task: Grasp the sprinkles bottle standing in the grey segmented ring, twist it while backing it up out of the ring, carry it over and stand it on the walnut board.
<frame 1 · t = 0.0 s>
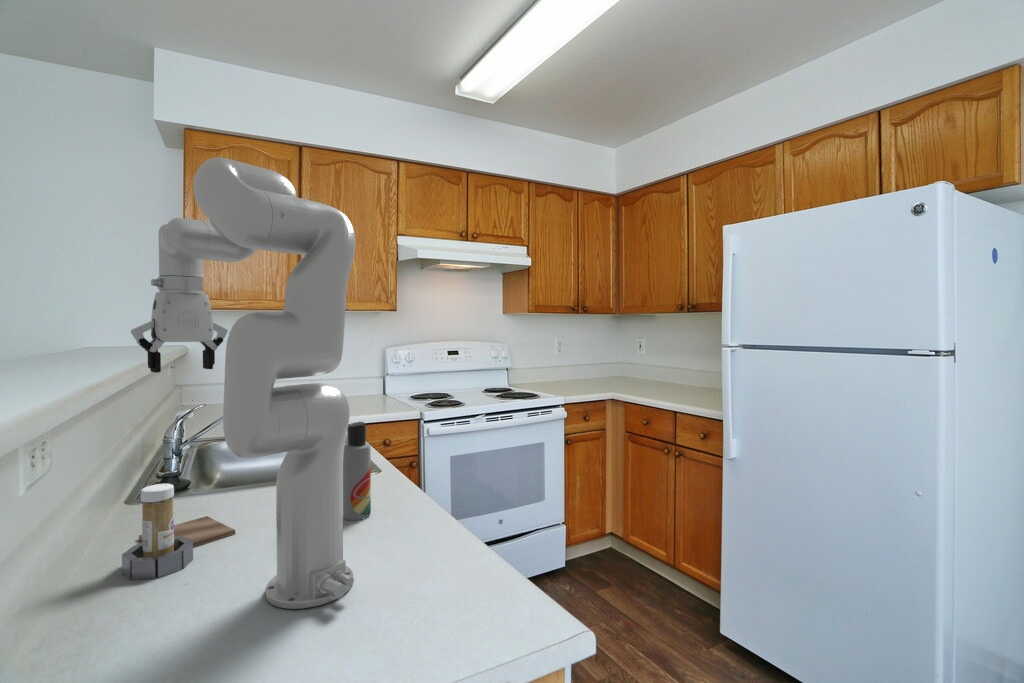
hand: (182, 370, 104), 31 cm above the worktop, tool pointing down, fingers open, 9 cm apart
walnut board: (187, 536, 97), on the worktop
grey segmented ring: (158, 565, 86), on the worktop
sprinkles bottle: (158, 567, 86), resting in grey segmented ring
lotion bottle: (356, 516, 108), on the worktop
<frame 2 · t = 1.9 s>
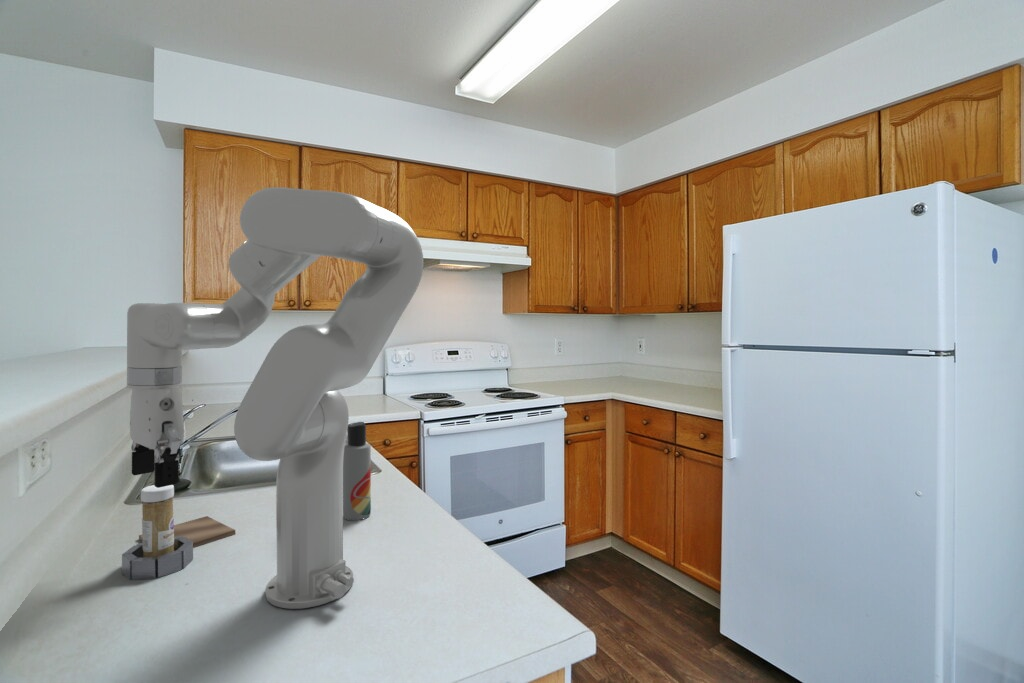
hand: (154, 479, 85), 15 cm above the worktop, tool pointing down, fingers open, 9 cm apart
nothing on the worktop moved.
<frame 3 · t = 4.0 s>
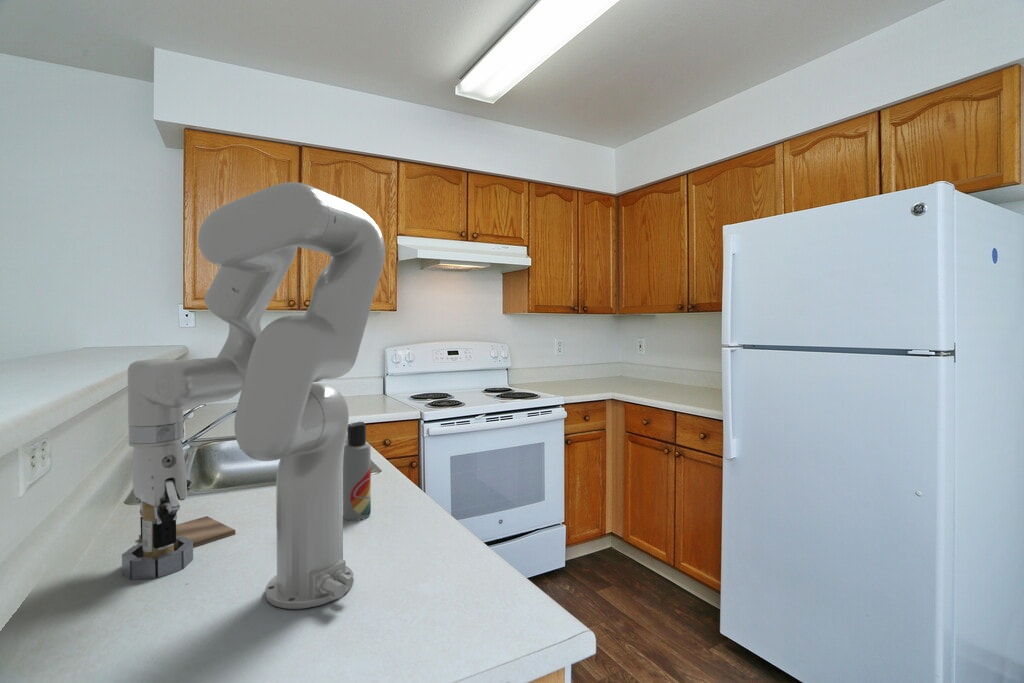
hand: (158, 540, 85), 4 cm above the worktop, tool pointing down, fingers closed on sprinkles bottle, 4 cm apart
sprinkles bottle: (158, 567, 86), resting in grey segmented ring, touching gripper
everything else where it was.
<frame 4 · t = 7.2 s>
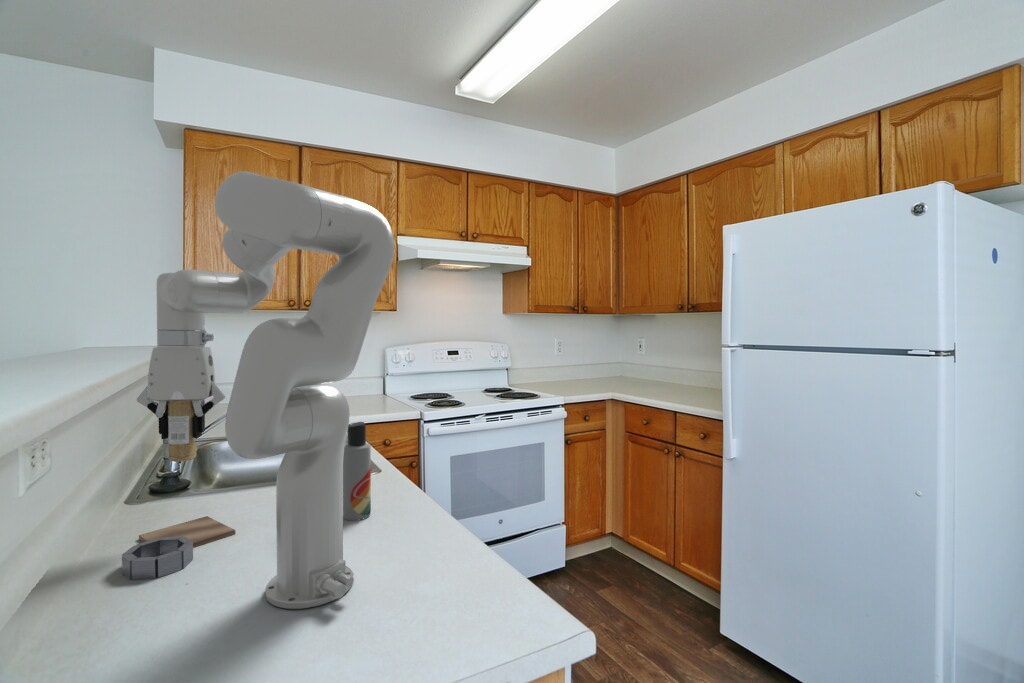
hand: (182, 436, 95), 20 cm above the worktop, tool pointing down, fingers closed on sprinkles bottle, 4 cm apart
sprinkles bottle: (182, 460, 95), point 15 cm above the worktop, touching gripper
everything else where it was.
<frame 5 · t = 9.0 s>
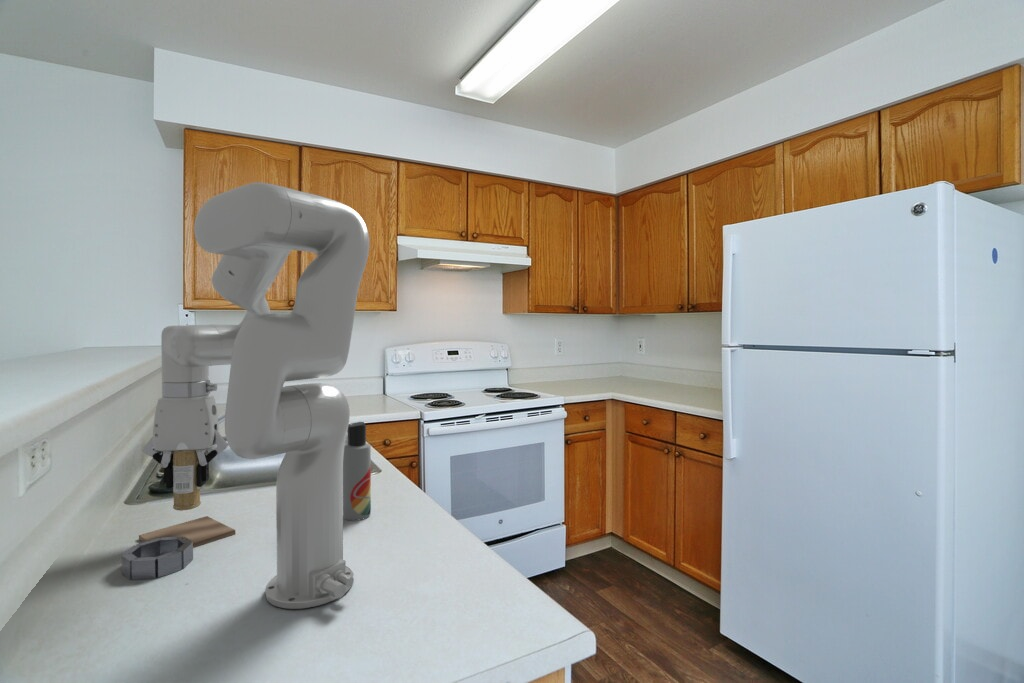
hand: (186, 484, 97), 10 cm above the worktop, tool pointing down, fingers closed on sprinkles bottle, 4 cm apart
sprinkles bottle: (186, 508, 97), point 5 cm above the worktop, touching gripper
everything else where it was.
when the fingers open (6 cm above the worktop, at t = 10.5 s): sprinkles bottle drops 1 cm, resting on walnut board.
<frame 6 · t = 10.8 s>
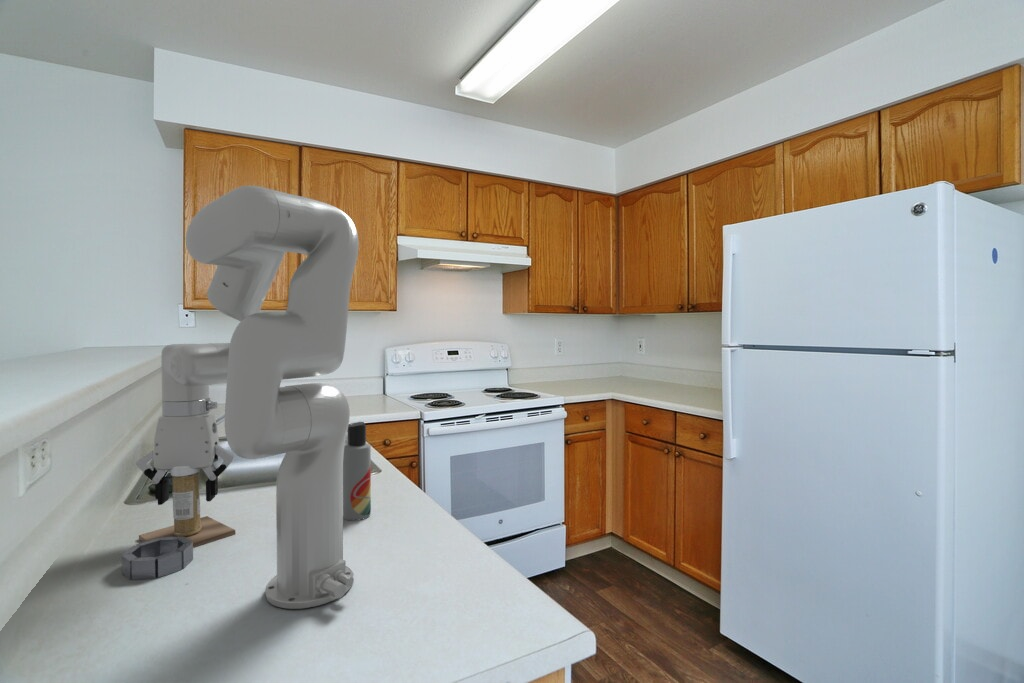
hand: (187, 500, 97), 7 cm above the worktop, tool pointing down, fingers open, 7 cm apart
sprinkles bottle: (187, 533, 97), point 1 cm above the worktop, touching walnut board
everything else where it was.
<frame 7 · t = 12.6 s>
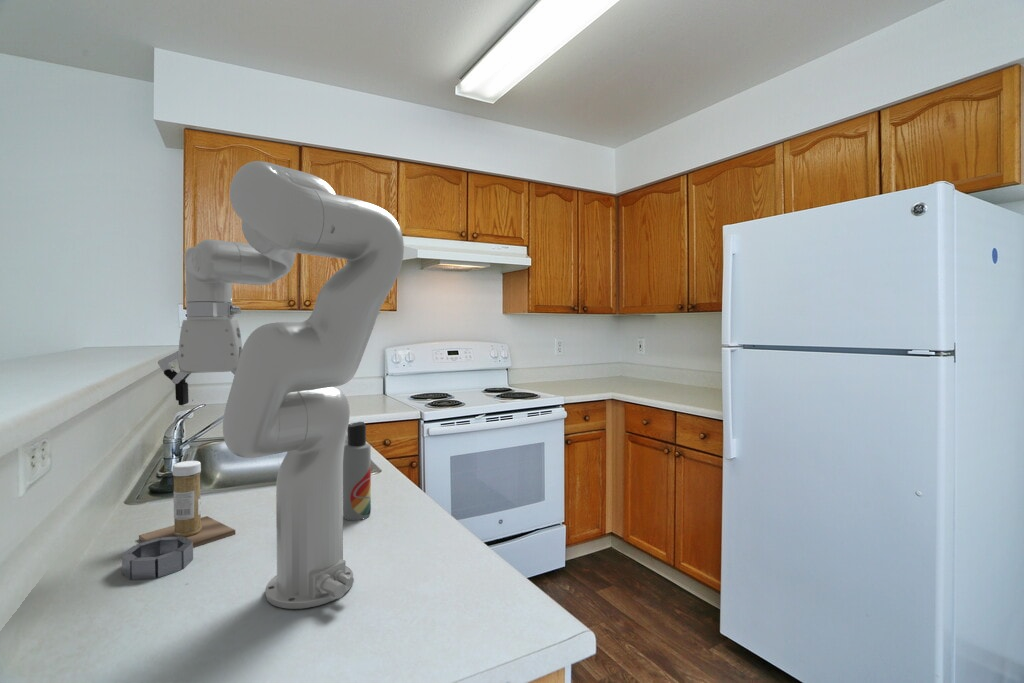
hand: (212, 402, 97), 26 cm above the worktop, tool pointing down, fingers open, 9 cm apart
nothing on the worktop moved.
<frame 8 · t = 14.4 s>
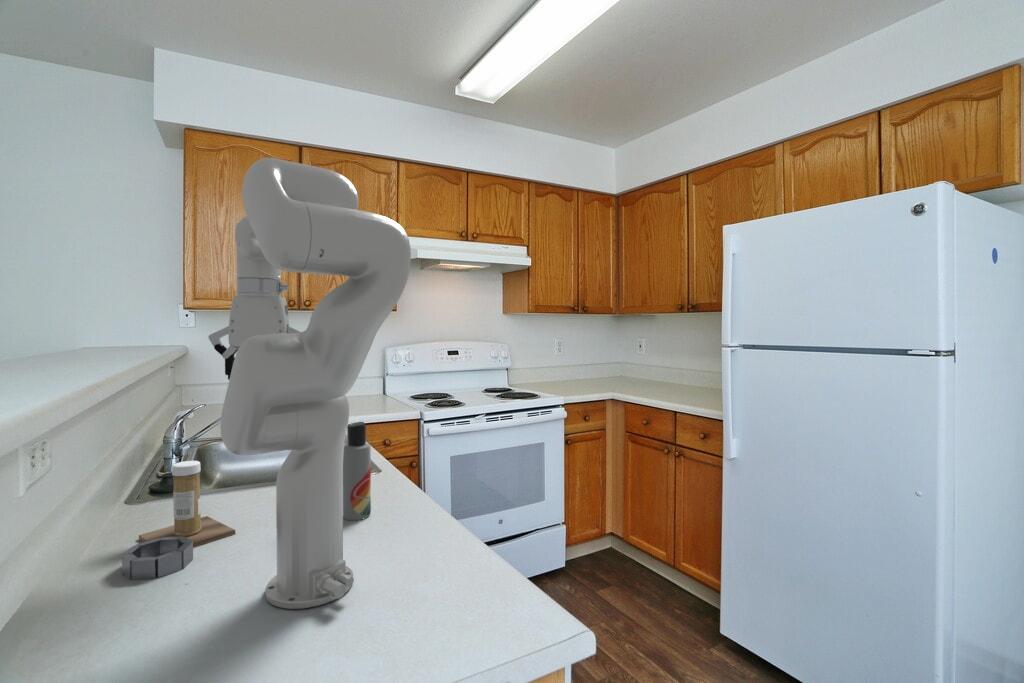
hand: (260, 378, 98), 30 cm above the worktop, tool pointing down, fingers open, 9 cm apart
nothing on the worktop moved.
at the end: sprinkles bottle inside the target area on the walnut board (0.1 cm from its centre), point 0.6 cm above the walnut board's base; sprinkles bottle tilted 0°; the gripper is holding nothing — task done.
